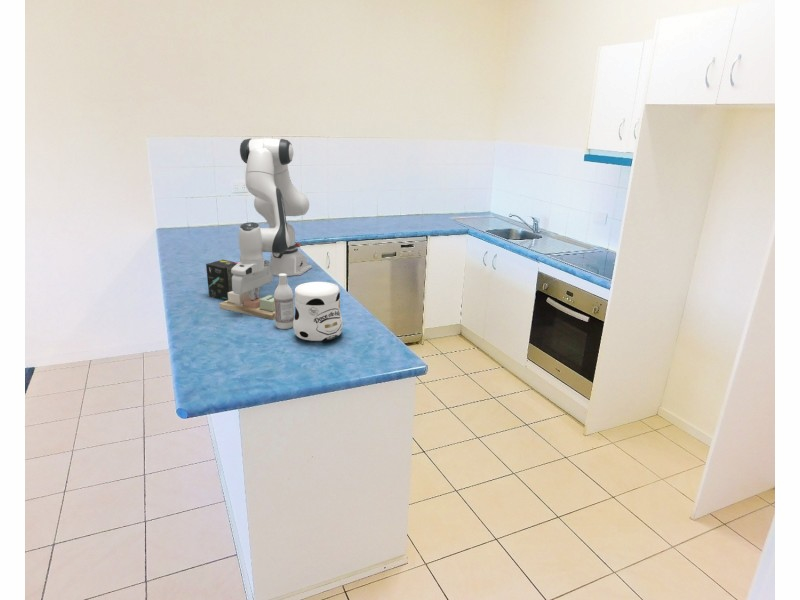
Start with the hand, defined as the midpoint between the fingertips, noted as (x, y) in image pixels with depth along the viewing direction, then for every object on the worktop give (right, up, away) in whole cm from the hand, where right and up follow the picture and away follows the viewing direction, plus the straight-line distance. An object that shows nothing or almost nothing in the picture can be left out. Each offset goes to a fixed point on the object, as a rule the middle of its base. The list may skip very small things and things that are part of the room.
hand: (254, 298), depth 212 cm
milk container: (+29, -14, -22) cm, 39 cm away
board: (0, -4, +1) cm, 5 cm away
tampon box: (-16, +1, +15) cm, 22 cm away
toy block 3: (+7, -4, -2) cm, 8 cm away
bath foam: (+15, -10, -14) cm, 23 cm away
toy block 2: (0, -4, +1) cm, 4 cm away
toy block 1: (-7, -1, +4) cm, 8 cm away
